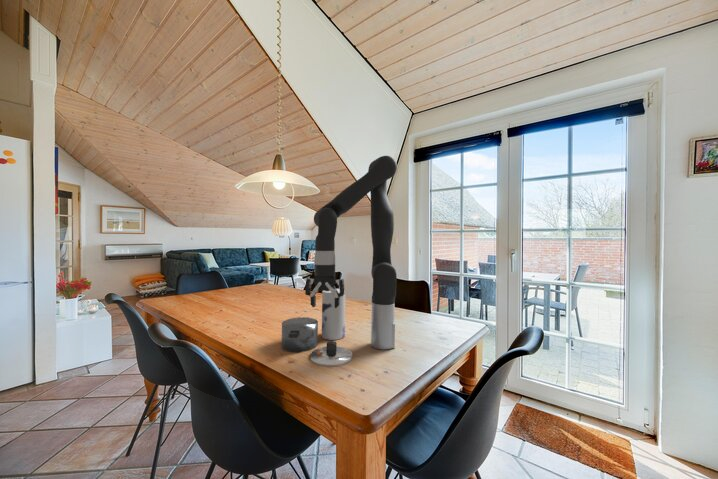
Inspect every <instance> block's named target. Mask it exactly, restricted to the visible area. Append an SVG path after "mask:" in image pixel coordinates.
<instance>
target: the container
mask: <svg viewBox="0 0 718 479" xmlns="http://www.w3.org/2000/svg"><path fill="white" fill-rule="evenodd" d="M336 289H337V291H338V293H340V288H336ZM331 290H332V289H331ZM344 291H345V292H346V290H345V289H344ZM321 294H322V295H321V296H322V297H321V299H322V300H321V306H322V307H321V338H322V339H324V340H330V341H336V340H337V341H338V340H341V339H343V338H344V337H345V335H346V334H345V332H346V331H345V330H346V329H345V328H346V293H345V294H344V295H343V296H341V297H340V304H339V306H338V307H337V308H335V296H334V295H333V293H331V291H321Z"/></svg>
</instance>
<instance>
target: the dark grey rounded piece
mask: <svg viewBox="0 0 718 479" xmlns="http://www.w3.org/2000/svg"><path fill="white" fill-rule="evenodd" d="M318 323H319V322H318V320H317V319H315V318H312V317H307V316H306V317H305V316H304V317H292V318H288V319H285V320H283V321H282V322H281V348H282V350H284V351H286V352H291V353H304V352H308V351H311V350H315V348H316V347H318V340H319V339H318V338H319V336H318V334H319V333H318V331H319V329H318V328H319V324H318Z"/></svg>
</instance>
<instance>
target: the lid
mask: <svg viewBox="0 0 718 479" xmlns="http://www.w3.org/2000/svg"><path fill="white" fill-rule="evenodd" d="M337 345H338V344H337V342H336V341H335V340H330V341H328V342H326V346H323V347H319V348H316V349H313V351H312V352H311V353H310V356H309V358H310V361H311V362H312V363H313V364H315V365H318V366H322V367H338V366H341V365H342V366H343V365H345V364H348V363H349V362H351V360H352V359H353V352H352V351H351V350H350V349H348V348H346V347H342V346H337Z"/></svg>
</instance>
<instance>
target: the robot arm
mask: <svg viewBox="0 0 718 479" xmlns="http://www.w3.org/2000/svg"><path fill="white" fill-rule="evenodd" d="M397 168H398V164H397V161H396V160H395V159H394V158H393V157H392V156H390V155H381V156H379V157H378V158H376V159H374V160H373V161H372V162H370V164H369V165H368V171H367V172H366V173H365V174H364V175H363V176H362V177H360V178H358V179H357V180H355V181H354V182H353V183H351V184H350V185H348V186H347V187H345V189H343V190H342V191H341V192H340V193H339V194H337V195H336V196H335V197H334V198H333V199H332V200H330V201H329V202H328V203H326V204H324V206H322V207H320V208H319V209H318V210H317V211H315V213H314V215H313V223H314V225H316V226H317V230H318V232H317V235H316V236H315V249H314V250H315V251H314V253H315V254H314V260H313V261H314V278H310V277H308V278H306V280H305V292H304V294H305V295H306V296H308V297H310V306H311V308H315V307H316V306H317V304H316V303H317V301H316V298H317V296H316V294H317V293H318V292H319V291H320V292H322V291H331V293H333V295H334V296H335V308H337V307H338V306H339V304H340V297H341V296H343V295H344V294H345V295H346V290H345V280H344V279H343V278H341V279H336V253H335V248H336V247H335V246H336V245H335V242H336V241H335V237H336V233H337V227H338V218H340V217H341V215H345V214H346V213H347V212H349V211H350V210H351V209H352V208H354V206H356V205H357V204H358V203H359V202H360V201H361V200H362V199H363V198H364V197H366V196H367V195H368V194H369V193H370V232H371V243H372V262H371V277H372V278H371V279H372V293H371V294H372V295H371V318H370V320H371V321H370V322H371V325H370V326H371V328H370V329H371V331H370V345H371V347H373V348H374V349H376V350H390V349H395V347H396V346H395V344H396V343H395V341H396V339H395V338H396V324H395V323H396V322H395V314H396V312H395V307H396V306H395V305H396V304H395V303H396V302H395V301H396V296H397V280H398V279H397V277H398V276H397V271H396V269H395V266H393V265H392V257H391V256H392V254H391V247H392V241H393V236H394V229H395V228H394V226H395V225H394V224H395V222H394V221H395V220H394V219H395V218H394V211H393V208H392V205H391V203H390V200H389V198H388V192H387V191H388V190H387V187H388V186H387V183H388V180H390V179H392V178H393V177H394V176H395V174H396V173H397ZM312 284H314V285H315V287H314V288H313V289H312ZM336 284H337V286H339V288H336V286H335V285H336ZM331 289H332V290H331ZM337 289H340V293H338V291H337ZM344 290H345V291H344Z"/></svg>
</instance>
